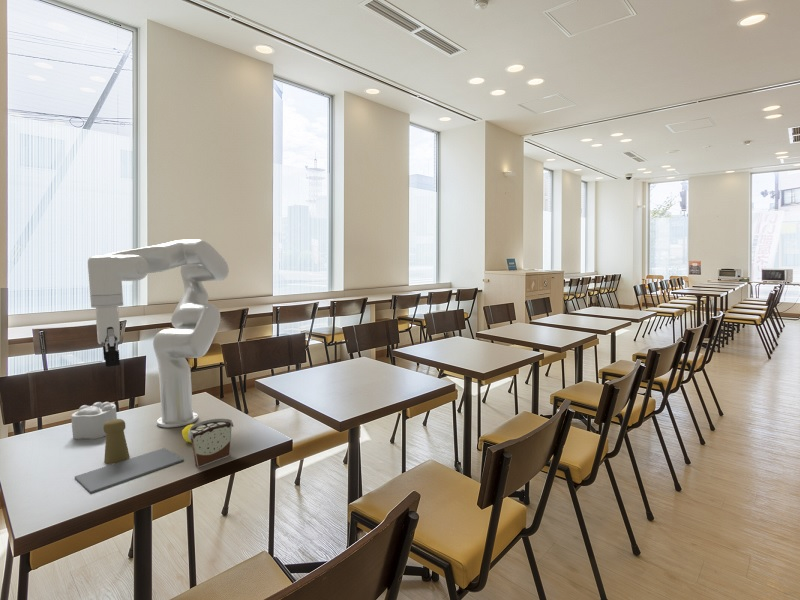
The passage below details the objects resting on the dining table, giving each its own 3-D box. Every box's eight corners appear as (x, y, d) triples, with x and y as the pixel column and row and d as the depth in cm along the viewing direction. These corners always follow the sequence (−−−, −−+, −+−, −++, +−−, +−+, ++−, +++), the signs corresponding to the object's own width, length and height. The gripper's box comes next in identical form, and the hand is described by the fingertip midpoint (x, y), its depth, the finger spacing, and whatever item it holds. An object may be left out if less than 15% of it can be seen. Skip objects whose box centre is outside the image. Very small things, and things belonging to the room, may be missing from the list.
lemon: (207, 440, 141) (209, 423, 140) (196, 447, 136) (197, 430, 135) (187, 435, 142) (188, 419, 142) (175, 442, 137) (176, 425, 136)
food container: (223, 448, 134) (221, 414, 133) (235, 453, 130) (233, 419, 129) (180, 463, 124) (178, 427, 123) (192, 470, 120) (189, 433, 119)
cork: (102, 465, 124) (98, 425, 123) (106, 456, 129) (103, 418, 128) (128, 461, 126) (125, 422, 125) (131, 452, 132) (128, 415, 131)
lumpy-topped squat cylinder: (67, 439, 142) (65, 412, 141) (94, 423, 155) (92, 398, 154) (101, 438, 142) (99, 411, 141) (125, 423, 155) (124, 398, 154)
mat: (74, 478, 117) (74, 476, 117) (164, 449, 134) (164, 447, 134) (90, 493, 109) (90, 491, 109) (183, 460, 126) (183, 459, 126)
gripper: (89, 299, 131) (94, 358, 133) (91, 304, 117) (96, 370, 119) (120, 298, 136) (124, 355, 137) (125, 302, 121) (130, 366, 123)
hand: (111, 362), depth 128 cm, fingers open, 9 cm apart
